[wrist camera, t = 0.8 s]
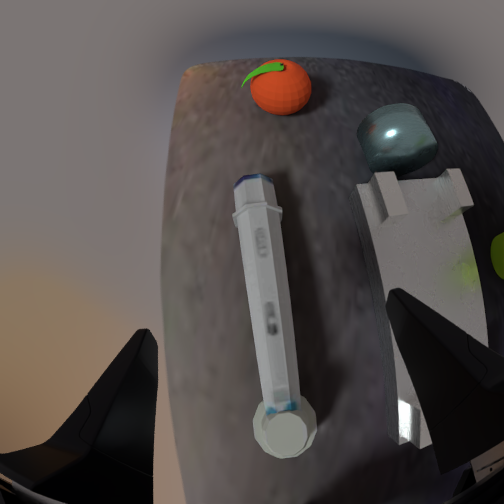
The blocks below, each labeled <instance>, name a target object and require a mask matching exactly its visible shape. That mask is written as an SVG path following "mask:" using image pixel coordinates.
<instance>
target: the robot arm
mask: <svg viewBox="0 0 504 504" xmlns="http://www.w3.org/2000/svg"><path fill="white" fill-rule="evenodd" d="M386 312H387V315H388V318H389V321H390V324H391V327H392V331H393V334H394V337H395V340H396V343H397V346H398V349H399V351H400V353H401V356H402V358H403V361H404V363H405V366H406V368H407V371H408V373H409V376H410V379H411V381H412V384H413V387H414V389H415V392H416V395H417V398H418V400H419V403H420V406H421V409H422V412H423V415H424V418H425V421H426V424H427V427H428V431H429V434H430V438H431V441H432V444H433V448H434V451H435V455H436V459H437V463H438V466H439V470H440V473H441V475H442V474H444V473H446V472H448V471H450V470H453V469H455V468H457V467H459V466H461V465H463V464H465V463H467V462H469V461H470V464H471V467H469V468H468V469H466V470H465V471H464V472H463V475H462V477H461V479H460V481H459V483H458V485H457V488H456V490H455V492H454V494H453V498H452V499H450V500H448V501H446V502H444V503H443V504H504V357H503V356H502V355H500V354H498V353H497V352H495V351H493V350H492V349H490V348H488V347H487V346H485V345H484V344H482V343H481V342H479V341H478V340H476V339H475V338H473V337H472V336H471V335H469V334H467V333H466V332H465V331H464V330H462V329H461V328H459V327H458V326H456V325H455V324H454V323H452V322H451V321H449V320H448V319H446V318H445V317H444V316H442V315H441V314H439V313H438V312H436V311H435V310H433V309H432V308H430V307H429V306H427V305H426V304H424V303H423V302H421V301H420V300H418V299H417V298H415V297H414V296H412V295H411V294H409V293H408V292H406V291H405V290H403V289H401V288H394V289H391V290H390V291H389V293H388V297H387V301H386ZM157 388H158V345H157V342H156V340H155V338H154V337H153V335H152V333H151V332H150V330H149V329H139V330H137V331H136V332H135V334H134V335H133V336H132V337H131V338H130V340H129V341H128V342H127V344H126V345H125V346H124V347H123V349H122V350H121V351H120V352H119V354H118V355H117V356H116V357H115V359H114V360H113V361H112V362H111V364H110V365H109V366H108V368H107V369H106V370H105V371H104V373H103V374H102V375H101V377H100V378H99V379H98V381H97V382H96V383H95V384H94V386H93V387H92V388H91V390H90V391H89V392H88V395H87V396H85V398H84V399H83V400H82V402H81V403H80V404H79V406H78V407H77V408H76V410H75V411H74V412H73V413H72V414H71V415H70V416H69V418H68V419H67V420H66V421H65V422H64V423H63V424H62V426H61V427H60V428H59V429H58V430H57V431H56V432H55V434H54V435H53V436H52V437H51V438H50V439H48V440H47V441H46V442H44V443H42V444H40V445H36V446H33V447H29V448H26V449H22V450H18V451H14V452H10V453H5V454H0V473H1V474H3V475H4V476H6V477H8V478H9V479H11V480H12V483H10V482H8V481H6V480H4V479H2V478H0V504H153V455H154V431H155V415H156V401H157V390H158V389H157Z"/></svg>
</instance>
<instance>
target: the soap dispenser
mask: <svg viewBox="0 0 504 504" xmlns="http://www.w3.org/2000/svg"><path fill="white" fill-rule="evenodd" d="M491 261H492V264H493V267H494V270H495V272H496V273H497V275H498V276H499V277H500V278H502V279H504V232H503V233H501V234H499V235H497V236H496V237H495V238H494V239H493V241H492V244H491Z"/></svg>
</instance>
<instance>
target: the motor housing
mask: <svg viewBox="0 0 504 504" xmlns="http://www.w3.org/2000/svg"><path fill="white" fill-rule="evenodd" d="M357 137H358V140H359V142H360V145H361V147H362V150H363V152H364V155H365V157H366V160H367V163H368V165H369V168H370V170H371V172H372V173H373V176H372V178H371V179H370V181H369V182H368V183H367V184H357V185H356V186H355V188H354V190H353V191H352V193H351V195H350V196H349V201H350V205H351V208H352V212H353V215H354V219H355V223H356V226H357V230H358V234H359V238H360V242H361V246H362V250H363V254H364V259H365V263H366V268H367V272H368V277H369V282H370V287H371V292H372V297H373V303H374V308H375V314H376V320H377V326H378V333H379V340H380V347H381V355H382V363H383V373H384V383H385V395H386V410H387V433H388V436H389V437H390V438H392V439H393V440H394V441H395V442H396V443H397V444H398V445H401V444H403V443H406V442H408V441H410V442H411V443H412V444H414V445H415V446H416V447H418V448H419V449H421V448H424V447H426V446H428V445H430V444H432V441H431V438H430V434H429V431H428V427H427V424H426V421H425V418H424V415H423V412H422V409H421V406H420V403H419V400H418V398H417V395H416V392H415V389H414V387H413V384H412V381H411V379H410V376H409V373H408V371H407V368H406V366H405V363H404V361H403V358H402V356H401V353H400V351H399V349H398V346H397V343H396V340H395V337H394V334H393V331H392V327H391V324H390V321H389V318H388V315H387V312H386V301H387V297H388V293H389V291H390V290H391V289H394V288H401V289H403V290H405V291H406V292H408V293H409V294H411V295H412V296H414V297H415V298H417V299H418V300H420V301H421V302H423V303H424V304H426V305H427V306H429V307H430V308H432V309H433V310H435V311H436V312H438V313H439V314H441V315H442V316H444V317H445V318H446V319H448V320H449V321H451V322H452V323H454V324H455V325H456V326H458V327H459V328H461V329H462V330H464V331H465V332H466V333H467V334H469V335H471V336H472V337H473V338H475V339H476V340H478V341H479V342H481V343H482V344H484V345H485V346H487V347H488V336H487V325H486V317H485V309H484V302H483V296H482V290H481V285H480V279H479V275H478V270H477V265H476V261H475V257H474V253H473V249H472V245H471V241H470V238H469V234H468V231H467V228H466V224H465V221H464V218H463V215H462V213H463V212H465V211H466V210H468V209H469V208H471V207H472V206H473V205H474V204H473V201H472V198H471V195H470V193H469V190H468V188H467V185H466V183H465V180H464V178H463V175H462V173H461V171H460V169H446V170H445V171H444V172H443V173H442V174H441V175H440V176H439V177H438V178H429V179H414V180H401V181H397V178H396V176H400V175H404V174H407V173H410V172H412V171H415V170H417V169H419V168H421V167H422V166H424V165H425V164H427V163H428V162H429V161H430V160H431V159H432V158H433V157H434V156H435V155H436V153H437V150H438V144H437V142H436V140H435V138H434V136H433V134H432V132H431V130H430V128H429V126H428V125H427V123H426V121H425V119H424V117H423V116H422V114H421V112H420V111H419V110H418V109H417V108H416V107H414V106H412V105H409V104H403V103H398V104H391V105H387V106H384V107H381V108H379V109H377V110H375V111H373V112H372V113H370V114H369V115H368V116H367V117H366V118H364V120H363V121H362V122H361V123H360V125H359V127H358V130H357Z"/></svg>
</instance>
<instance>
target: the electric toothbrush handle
mask: <svg viewBox="0 0 504 504" xmlns="http://www.w3.org/2000/svg"><path fill="white" fill-rule="evenodd" d="M233 185H234V195H235V205H236V212H235V213H233V214H232V215H233V220H234V223H235V227H238V230H239V238H240V245H241V252H242V259H243V266H244V273H245V280H246V287H247V294H248V300H249V307H250V314H251V321H252V328H253V334H254V341H255V348H256V354H257V361H258V367H259V374H260V380H261V387H262V393H263V399H264V400H263V401H261V402H260V403H259V406H258V408H257V411H256V414H255V416H254V419H253V427H254V434H255V439H256V440H257V442H258V443H259V444H260V446H261V447H262V448H263V450H264V451H265V452H266V453H268V454H271V455H273V456H275V457H278V458H280V459H282V458H290V457H297V456H298V455H300V454H301V453H302V452H304V451H305V450H306V449H307V448H309V447H310V446H311V444H312V441H313V439H314V437H315V434H316V432H317V423H316V414H315V411H314V410H313V408H312V407H311V406H310V404H309V403H308V401H307V400H306V398H305V397H303V396H301V395H300V387H299V376H298V366H297V356H296V346H295V337H294V327H293V318H292V310H291V301H290V293H289V285H288V277H287V269H286V261H285V254H284V246H283V239H282V232H281V225H280V222H281V221H282V207H279V206H277V200H276V195H275V190H274V185H273V180H272V179H271V178H269V177H267V176H265V175H263V174H253V175H245V176H243V177H242V178H240V179H239V180H238V181H237V182H236V183H234V184H233Z"/></svg>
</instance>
